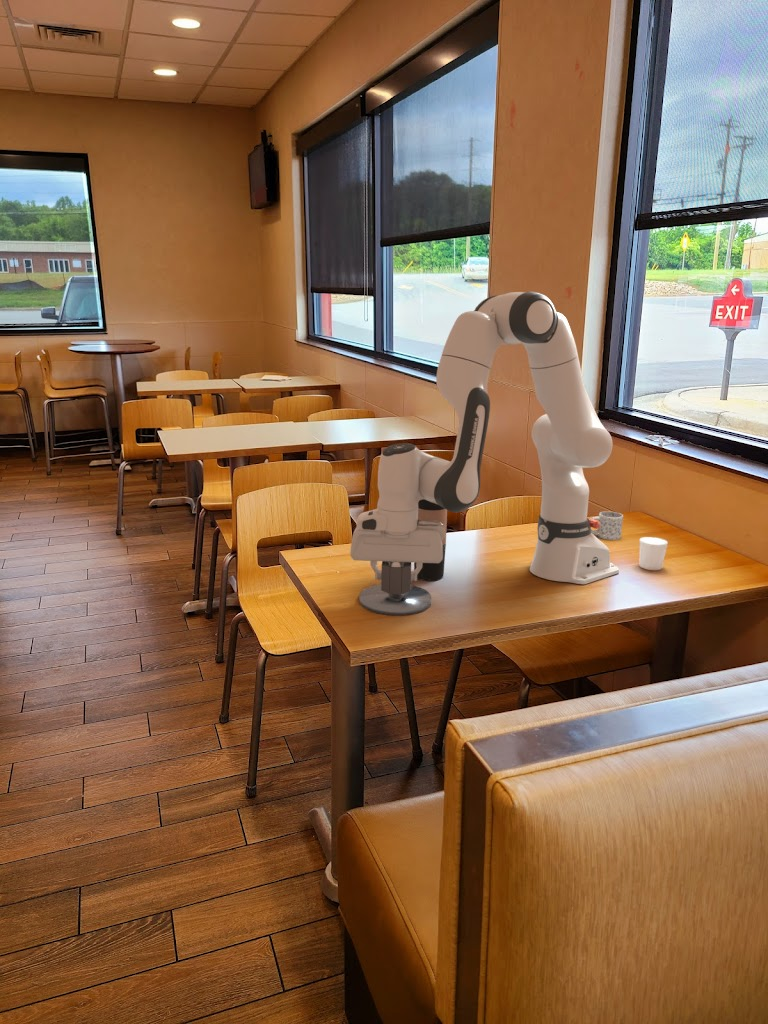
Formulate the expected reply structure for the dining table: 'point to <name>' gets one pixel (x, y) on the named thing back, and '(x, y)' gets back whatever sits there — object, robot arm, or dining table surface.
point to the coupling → (396, 578)
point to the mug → (608, 525)
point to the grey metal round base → (395, 599)
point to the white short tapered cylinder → (652, 553)
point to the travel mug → (439, 513)
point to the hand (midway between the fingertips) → (396, 579)
